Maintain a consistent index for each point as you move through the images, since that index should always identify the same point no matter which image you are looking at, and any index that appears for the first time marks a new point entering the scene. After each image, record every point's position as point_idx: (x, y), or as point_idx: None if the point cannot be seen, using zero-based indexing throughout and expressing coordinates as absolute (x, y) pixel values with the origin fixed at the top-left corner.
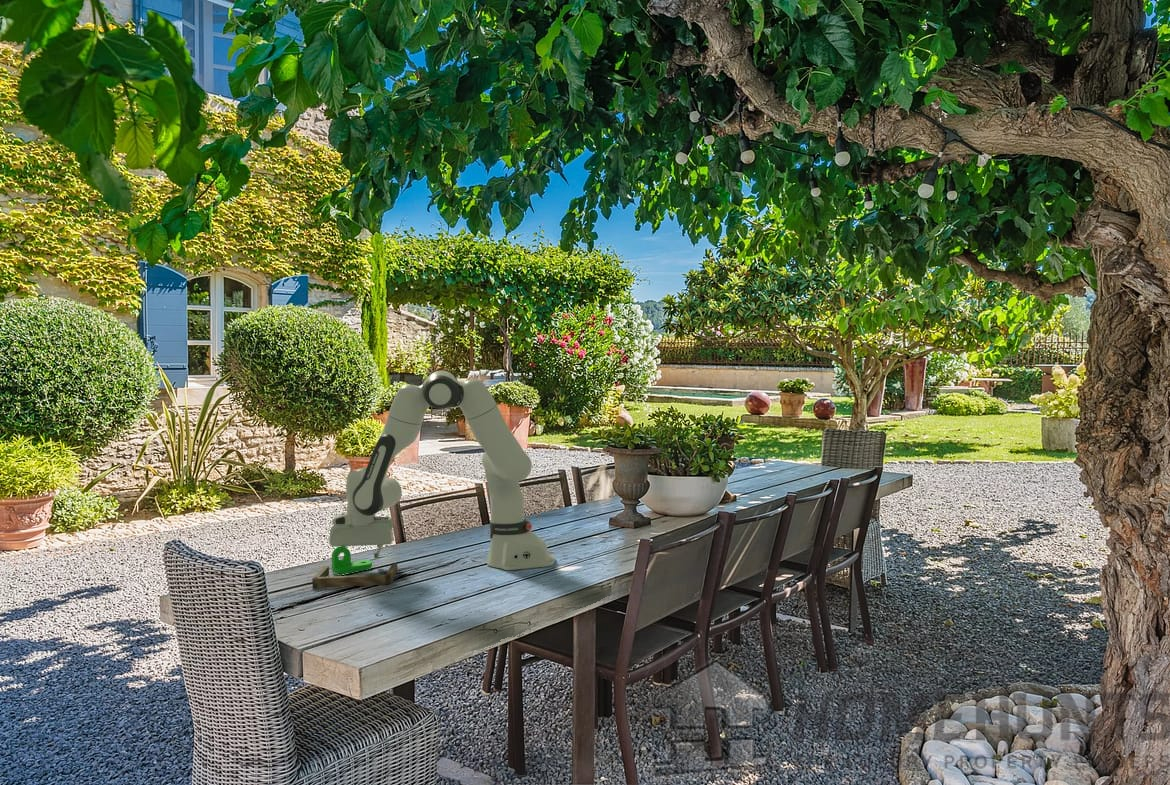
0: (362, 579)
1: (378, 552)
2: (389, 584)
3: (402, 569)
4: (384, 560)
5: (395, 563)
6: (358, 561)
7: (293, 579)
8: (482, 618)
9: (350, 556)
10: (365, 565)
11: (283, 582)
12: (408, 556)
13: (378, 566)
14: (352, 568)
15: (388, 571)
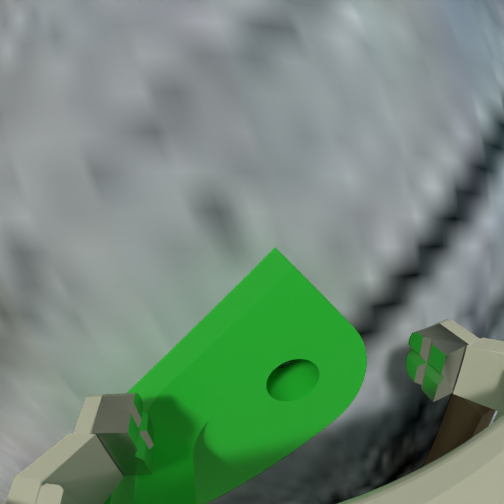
0: None
1: (470, 390)
2: None
3: (491, 328)
4: (386, 88)
5: (491, 412)
6: (225, 353)
7: (4, 482)
8: None
9: (194, 492)
10: (324, 422)
11: (6, 498)
12: (483, 33)
13: (383, 283)
14: (244, 477)
15: None
